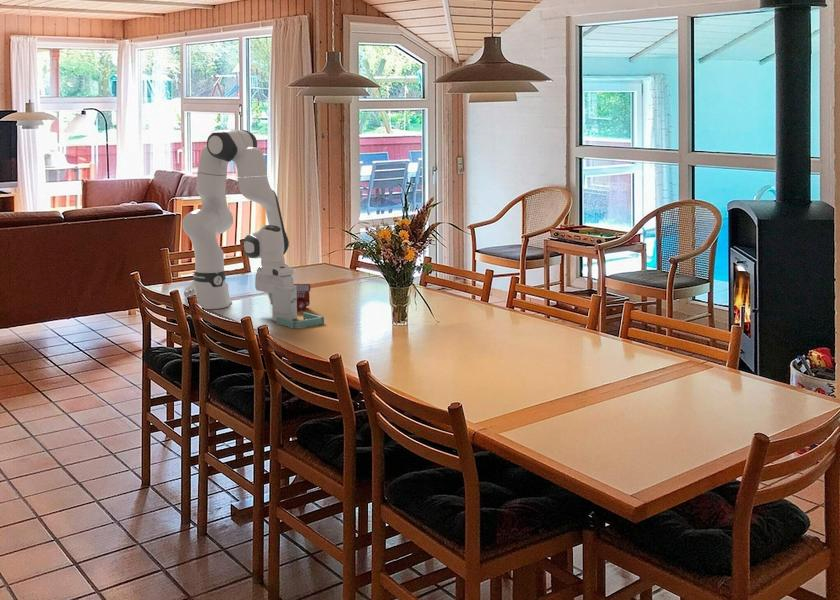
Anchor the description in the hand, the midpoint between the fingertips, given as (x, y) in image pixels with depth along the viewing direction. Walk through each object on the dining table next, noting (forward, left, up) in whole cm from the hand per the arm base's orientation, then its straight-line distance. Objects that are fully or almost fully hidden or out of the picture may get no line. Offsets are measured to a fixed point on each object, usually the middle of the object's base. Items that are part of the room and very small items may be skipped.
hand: (274, 304), depth 356 cm
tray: (+17, -1, -4) cm, 18 cm away
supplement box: (+8, -1, -5) cm, 9 cm away
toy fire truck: (-6, +13, -5) cm, 15 cm away
